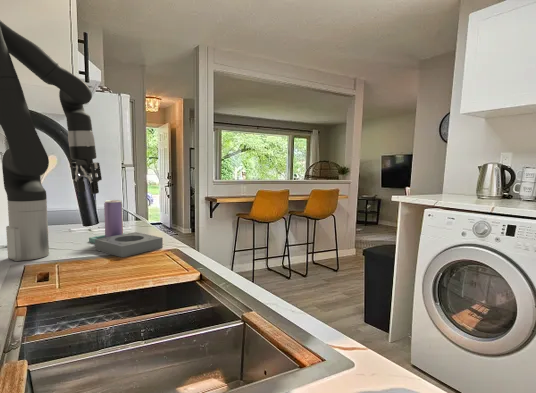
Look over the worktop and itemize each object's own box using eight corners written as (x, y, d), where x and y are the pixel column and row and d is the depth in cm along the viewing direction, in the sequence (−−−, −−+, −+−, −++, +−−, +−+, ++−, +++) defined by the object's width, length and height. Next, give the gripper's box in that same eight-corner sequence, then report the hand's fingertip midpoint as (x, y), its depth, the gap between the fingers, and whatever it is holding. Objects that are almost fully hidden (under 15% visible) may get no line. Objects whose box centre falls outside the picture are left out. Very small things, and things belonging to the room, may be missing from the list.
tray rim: (107, 246, 108) (107, 242, 108) (89, 241, 114) (88, 237, 114) (138, 240, 118) (138, 236, 118) (119, 236, 124) (119, 232, 124)
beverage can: (118, 243, 113) (117, 201, 112) (101, 242, 113) (100, 201, 112) (126, 239, 119) (125, 200, 117) (110, 239, 119) (109, 199, 118)
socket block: (122, 257, 96) (121, 246, 95) (95, 249, 104) (95, 239, 103) (162, 247, 108) (162, 237, 108) (135, 241, 116) (135, 232, 116)
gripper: (59, 145, 106) (66, 193, 108) (81, 144, 98) (88, 195, 101) (82, 145, 112) (88, 190, 115) (105, 144, 104) (110, 192, 107)
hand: (88, 192), depth 108 cm, fingers open, 8 cm apart
